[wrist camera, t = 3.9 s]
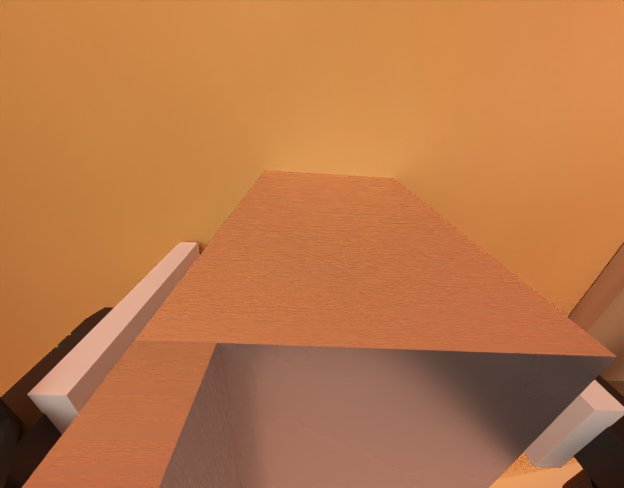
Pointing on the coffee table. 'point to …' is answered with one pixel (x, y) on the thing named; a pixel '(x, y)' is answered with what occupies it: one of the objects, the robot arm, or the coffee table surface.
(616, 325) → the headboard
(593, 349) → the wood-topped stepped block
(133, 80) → the coffee table surface
